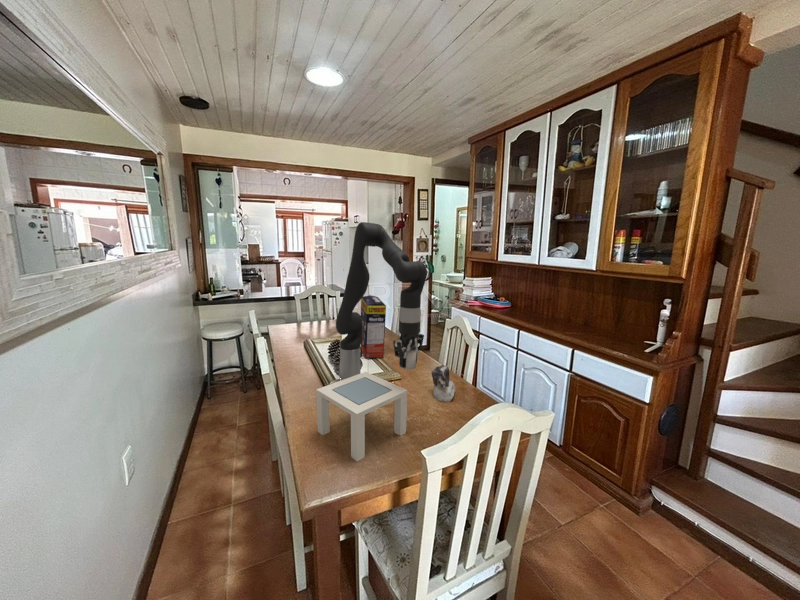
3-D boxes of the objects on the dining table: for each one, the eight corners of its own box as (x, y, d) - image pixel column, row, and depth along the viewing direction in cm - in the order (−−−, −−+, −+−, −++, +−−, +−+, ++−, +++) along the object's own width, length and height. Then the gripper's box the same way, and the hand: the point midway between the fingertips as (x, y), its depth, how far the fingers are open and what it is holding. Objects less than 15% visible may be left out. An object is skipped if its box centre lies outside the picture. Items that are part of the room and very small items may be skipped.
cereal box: (384, 359, 187) (387, 303, 181) (364, 359, 184) (366, 303, 178) (376, 344, 212) (378, 294, 206) (358, 344, 209) (360, 294, 204)
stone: (459, 406, 139) (446, 379, 134) (437, 412, 142) (423, 386, 137) (457, 384, 152) (445, 359, 146) (437, 390, 154) (424, 365, 149)
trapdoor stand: (317, 431, 117) (316, 389, 114) (365, 409, 132) (365, 371, 129) (357, 461, 102) (356, 413, 99) (406, 432, 117) (407, 390, 114)
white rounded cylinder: (398, 366, 119) (398, 350, 117) (407, 362, 122) (408, 347, 121) (409, 370, 115) (409, 354, 114) (418, 366, 119) (419, 350, 118)
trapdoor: (333, 392, 114) (332, 389, 114) (364, 380, 124) (364, 377, 124) (358, 407, 104) (358, 404, 104) (390, 392, 114) (390, 390, 114)
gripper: (415, 313, 123) (413, 357, 126) (387, 320, 113) (386, 367, 116) (431, 317, 118) (429, 362, 121) (403, 325, 108) (402, 374, 111)
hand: (408, 364), depth 119 cm, fingers closed on white rounded cylinder, 5 cm apart
